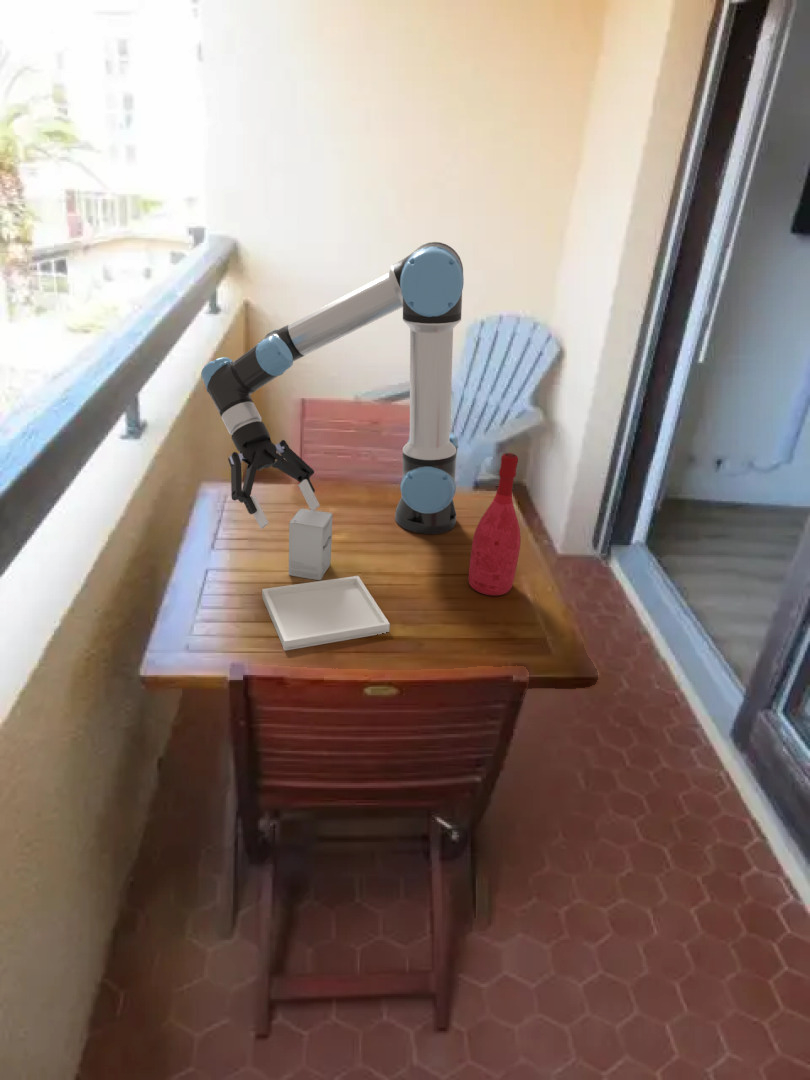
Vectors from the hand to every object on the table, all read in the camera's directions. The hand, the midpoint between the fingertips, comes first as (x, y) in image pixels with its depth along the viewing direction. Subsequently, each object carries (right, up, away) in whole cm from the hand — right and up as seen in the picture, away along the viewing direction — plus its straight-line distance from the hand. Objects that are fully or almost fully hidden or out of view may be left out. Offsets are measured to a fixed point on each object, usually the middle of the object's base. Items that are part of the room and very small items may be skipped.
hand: (291, 517), depth 150 cm
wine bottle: (+42, -15, +3) cm, 45 cm away
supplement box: (+4, -11, +3) cm, 12 cm away
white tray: (+8, -19, -12) cm, 24 cm away
